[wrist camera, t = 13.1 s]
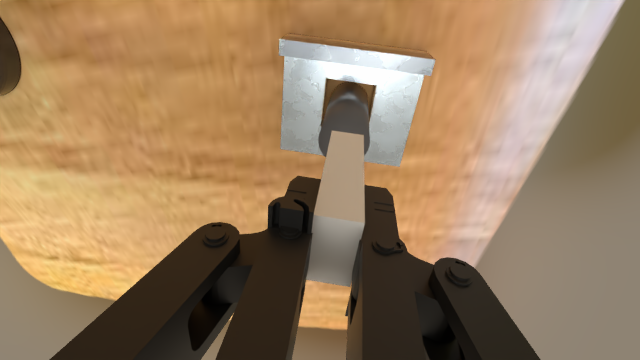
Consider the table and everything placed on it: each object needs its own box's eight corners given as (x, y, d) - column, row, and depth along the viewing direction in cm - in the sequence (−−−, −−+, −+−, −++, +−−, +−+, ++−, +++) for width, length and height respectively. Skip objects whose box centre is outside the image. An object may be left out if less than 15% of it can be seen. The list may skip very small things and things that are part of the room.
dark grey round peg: (328, 116, 42) (315, 160, 31) (332, 79, 39) (321, 113, 28) (363, 121, 42) (364, 168, 30) (370, 84, 39) (374, 121, 28)
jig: (284, 141, 44) (275, 159, 40) (289, 33, 37) (279, 38, 32) (397, 158, 44) (401, 178, 39) (425, 51, 36) (435, 59, 32)
